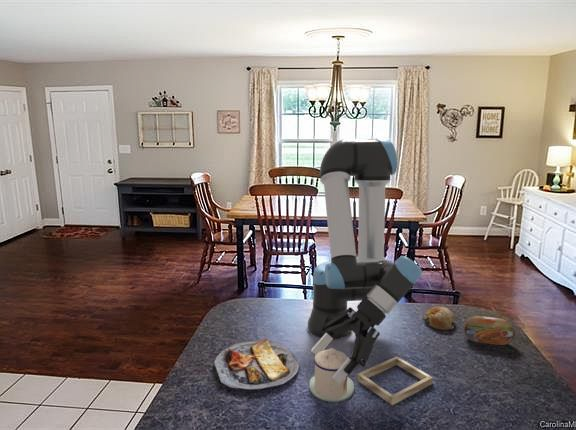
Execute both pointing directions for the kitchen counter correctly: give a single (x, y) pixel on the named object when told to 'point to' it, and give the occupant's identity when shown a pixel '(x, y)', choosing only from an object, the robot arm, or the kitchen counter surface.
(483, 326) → the tin
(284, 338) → the kitchen counter surface
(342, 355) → the teacup with lid
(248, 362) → the food plate
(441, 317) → the bread roll
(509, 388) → the kitchen counter surface
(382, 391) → the wooden frame
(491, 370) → the kitchen counter surface
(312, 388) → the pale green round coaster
